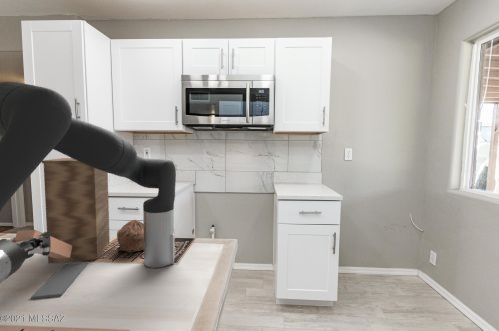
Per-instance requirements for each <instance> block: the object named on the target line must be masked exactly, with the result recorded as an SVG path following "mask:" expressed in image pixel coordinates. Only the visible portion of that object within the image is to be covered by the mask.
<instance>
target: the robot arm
mask: <svg viewBox="0 0 499 331" xmlns="http://www.w3.org/2000/svg"><path fill="white" fill-rule="evenodd" d="M0 136H1V138H0V212H1V211H3V208H4V207H5V206H6V204H7V203H8V202H9V201H10V199H11V198H12V197H13V196H14V194H15V193H16V192H17V191H18V190H19V189H20V187H22V185H23V184H24V183H25V182H26V180H28V178H29V177H30V176H31V175H32V174H33V173H34V172H35V171H36V169H37V168H38V167H39V166H40V164H42V161H44V160H46V159H45V158H47V157H48V155H49V154H50V153H51V152H52V151H53V150H54V151H57V152H59V153H60V154H62V155H65V156H67V157H68V158H73V159H75V160H77V161H79V162H82V163H84V164H86V165H89V166H91V167H93V168H96V169H99V170H101V171H104V172H107V173H108V174H111V175H115V176H118V177H120V178H121V177H122V178H125V179H129V180H130V181H132V182H134V183H135V184H136V185H139V186H140V187H143V188H146V189H158V192H157V195H156V196H154V197H152V198H148V199H146V200H144V202H143V204H142V207H143V208H142V209H143V210H142V211H143V212H142V216H143V222H142V223H143V224H144V249H143V262H144V266H146V267H148V268H153V269H155V268H156V269H157V268H164V267H166V266H168V265H169V266H170V265H174V264H175V258H176V256H175V253H176V252H175V251H176V249H175V242H176V241H175V215H174V214H175V212H174V211H175V209H174V208H175V200H176V199H175V198H176V180H177V178H176V177H177V170H176V165H175V163H174V161H172V160H170V159H162V158H161V159H160V158H158V159H156V158H154V159H153V158H143V157H140V156H138V153H137V150H136V148H135V146H134V145H133V144H132V142H130V141H128V140H127V139H125V138H124V137H122V136H120V135H118V134H117V133H116V132H113V131H111V130H109V129H107V128H103V127H101V126H98V125H95V124H93V123H89V122H86V121H83V120H81V119H78V118H75V117H73V113H72V108H71V105H70V102H69V101H68V100H67V98H66V97H64V96H63V95H62V94H61V93H60V92H58V91H56V90H53V89H51V88H49V87H43V86H39V85H33V84H28V83H23V82H22V83H21V82H17V81H0ZM42 233H43V234H41V235H39V236H38V237H36V238H28V239H26V240H23V241H18V242H16V243H15V238H16V236H15V237H12V238H9V239H7V238H1V239H0V284H1V283H2V282H4V281H6V279H8V278H10V277H11V276H12V275H14V274H15V273H17V271H19V270H20V268H21V267H22V265H23V264H24V262H25V260H27V259H30V258H32V257H34V255H35V254H38V253H40V254H39V255H41V254H43V255H42V256H45V257H47V256H46V255H49V254H50V249H51V240H50V234H49V232H47V231H44V232H42ZM36 242H37V245H36Z"/></svg>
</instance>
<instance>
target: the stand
mask: <svg viewBox="0 0 499 331" xmlns="http://www.w3.org/2000/svg"><path fill="white" fill-rule="evenodd" d="M41 164H43V178H44V180H43V181H44V194H45V195H44V200H45V201H44V202H45V218H46V219H45V220H46V232H49V234H50V236H51V237H53V238H56V239H58V240H60V241H63V242H65V243H67V244H70V245H72V250H71V255H70V258H59V259H56V258H52V257H49V256H47V259H48V260H47V262H48V264H55V263H65V262H77V261H79V262H80V261H90V260H98V259H99V258H100V257H101V255H102V254H103V252H105V250H106V249H107V248H108V246H109V245H110V243H111V242H110V240H111V239H110V237H111V236H110V215H109V214H110V212H109V211H110V210H109V208H110V207H109V206H110V205H109V178H108V176H109V175H108V174H109V173H107V172H104V171H101V170H99V169H96V168H93V167H91V166H89V165H86V164H84V163H82V162H79V161H77V160H75V159H73V158H71V157H62V158H54V159H53V158H52V159H44V160H43V161H42V162H41Z"/></svg>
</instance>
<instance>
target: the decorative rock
mask: <svg viewBox="0 0 499 331" xmlns="http://www.w3.org/2000/svg"><path fill="white" fill-rule="evenodd" d="M116 237H117V243H118V246H119V248H120V249H119V251H124V252H127V253H129V254H130V253H135V252H139V251H142V250H144V224H143V222H141V221H139V220H137V219H133V220H129V221H127V223H125V224H124V225H122V227H121V228H120V229H119V230H117V232H116Z"/></svg>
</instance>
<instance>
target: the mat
mask: <svg viewBox="0 0 499 331" xmlns="http://www.w3.org/2000/svg"><path fill="white" fill-rule="evenodd" d="M87 265H89V261H85V262H84V261H82V262H80V261H79V262H71V263H70V262H69V263H63V265H62V266H61V267H60V268H59V269H57V271H56V272H55V273H54V274H53V275H52V276H50V277H49V278H48V279H47V280H46V281H45V282H44V283H43V285H42V286H40V287H39V288H38V289H37V290H36V291H35V293H33V294H32V296H30V300H36V299H38V300H39V299H44V298H46V299H47V298H55V297H57V298H58V297H62V296H63V295H64V293H65V292H66V291H67V290H68V289H69V288H70V286H71V285H72V284H73V283H74V281H75V280H76V279H77V278H78V277H79V275H81V273H82V272H83V271H84V270H85V268H86V267H87Z"/></svg>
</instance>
